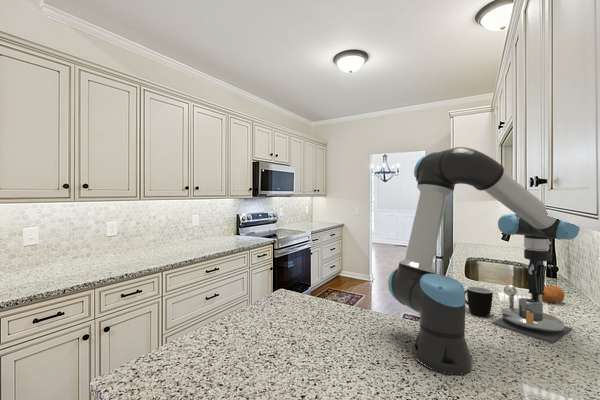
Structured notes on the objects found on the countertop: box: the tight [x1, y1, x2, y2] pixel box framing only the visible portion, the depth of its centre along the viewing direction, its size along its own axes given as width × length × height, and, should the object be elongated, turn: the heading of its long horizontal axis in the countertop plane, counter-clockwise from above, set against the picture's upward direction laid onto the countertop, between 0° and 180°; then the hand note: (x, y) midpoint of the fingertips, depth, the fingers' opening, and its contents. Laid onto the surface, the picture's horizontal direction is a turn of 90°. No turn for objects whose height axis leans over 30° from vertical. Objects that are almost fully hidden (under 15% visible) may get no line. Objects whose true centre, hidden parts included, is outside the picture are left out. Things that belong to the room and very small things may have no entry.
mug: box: [465, 286, 494, 318], centre depth 120 cm, size 12×9×10 cm
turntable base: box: [491, 317, 573, 344], centre depth 106 cm, size 20×18×2 cm
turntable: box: [501, 307, 565, 332], centre depth 107 cm, size 18×18×6 cm
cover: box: [518, 297, 544, 321], centre depth 106 cm, size 7×7×7 cm
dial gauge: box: [503, 284, 518, 308], centre depth 120 cm, size 4×4×12 cm
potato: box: [541, 285, 565, 303], centre depth 135 cm, size 9×11×8 cm
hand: (536, 311), depth 109 cm, fingers closed
